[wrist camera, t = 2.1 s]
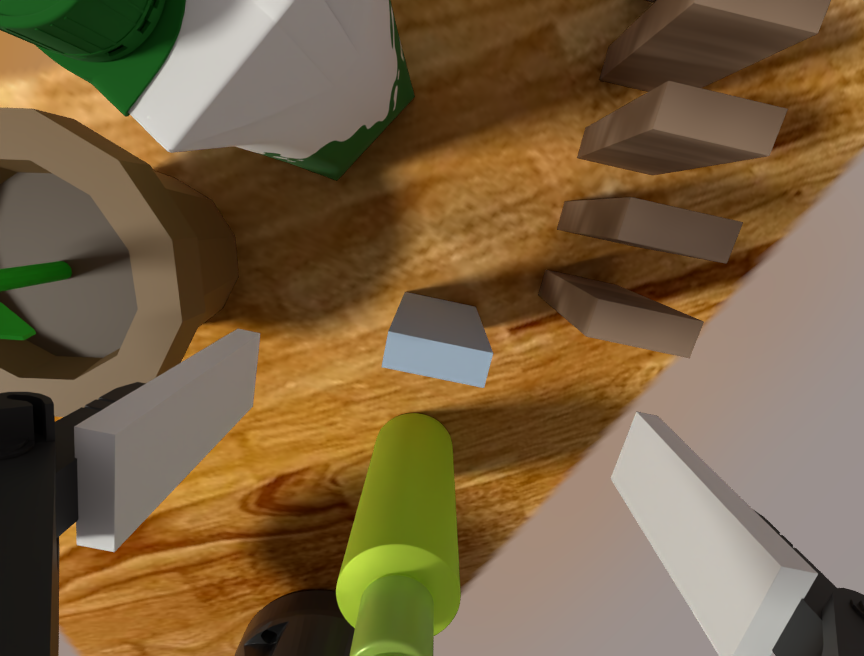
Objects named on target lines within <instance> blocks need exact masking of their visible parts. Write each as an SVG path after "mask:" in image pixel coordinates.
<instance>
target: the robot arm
mask: <svg viewBox="0 0 864 656" xmlns="http://www.w3.org/2000/svg"><path fill="white" fill-rule="evenodd" d="M259 342H260V333H256V332H251V331H247V330H242V329H236V330H235V331H233V332H231V333H230V334H228V335H226V336H225V337H223V338H221V339H220V340H218V341H216V342H215V343H213V344H211V345H210V346H208V347H206V348H205V349H203V350H201V351H200V352H198V353H196V354H195V355H193V356H191V357H190V358H188V359H186V360H185V361H183V362H181V363H180V364H178V365H176V366H175V367H173V368H171V369H169V370H168V371H166V372H164V373H163V374H161V375H159V376H158V377H156V378H154V379H153V380H151V381H149V382H148V383H142V382H135V383H132V384H128V385H125V386H122V387H118V388H115V389H113V390H112V391H110V392H108V393H106V394H104V395H103V396H101V397H99V399H98V400H96V399H95V400H94V401H92V402H90V403H88V404H86V405H85V407H84V408H82V407H81V408H79V409H78V410H76V411H74V412H72V413H70V414H69V415H67V416H65V417H63V418H61V419H60V420H58V421H56V422H55V421H54V403H53V401H52V399H51V398H50V397H48V396H45V395H43V394H40V393H33V392H4V393H0V656H58V647H59V645H58V644H59V536H60V535H61V534H62V533H63V532H65V531H66V530H67V529H68V528H69V527H70V526H72V525H73V524H74V523H75V522H76V530H77V545H80V546H86V547H91V548H96V549H101V550H107V551H112V552H115V551H116V550H117V549H118V548H119V547H120V546H121V544H122V543H123V542H124V541H125V540H126V539H127V538H128V537H129V536H130V535H131V534H132V533H133V532H134V531H135V530H136V529H137V528H138V527H139V526H140V524H141V523H142V522H143V521H144V520H145V519H146V518H147V517H148V516H149V515H150V514H151V513H152V512H153V511H154V510H155V509H156V508H157V507H158V506H159V504H160V503H161V502H162V501H163V500H164V499H165V498H166V497H167V496H168V495H169V494H170V493H171V492H172V491H173V490H174V489H175V488H176V487H177V486H178V484H179V483H180V482H181V481H182V480H183V479H184V478H185V477H186V476H187V475H188V474H189V473H190V472H191V471H192V470H193V469H194V468H195V467H196V466H197V464H198V463H199V462H200V461H201V460H202V459H203V458H204V457H205V456H206V455H207V454H208V453H209V452H210V451H211V450H212V449H213V448H214V447H215V446H216V444H217V443H218V442H219V441H220V440H221V439H222V438H223V437H224V436H225V435H226V434H227V433H228V432H229V431H230V430H231V429H232V428H233V427H234V426H235V424H236V423H237V422H238V421H239V420H240V419H241V418H242V417H243V416H244V415H245V414H246V413H247V412H248V411H249V410H250V409H251V408H252V407H253V399H254V390H255V380H256V370H257V361H258V351H259ZM611 480H612V482H613V483H614V485H615V486H616V488H617V490H618V491H619V493H620V495H621V496H622V498H623V499H624V501H625V503H626V504H627V506H628V508H629V509H630V511H631V513H632V514H633V516H634V517H635V519H636V521H637V522H638V524H639V526H640V527H641V529H642V530H643V532H644V534H645V535H646V537H647V538H648V540H649V542H650V544H651V545H652V546H653V548H654V550H655V552H656V553H657V555H658V557H659V558H660V560H661V562H662V563H663V565H664V566H665V568H666V570H667V571H668V573H669V574H670V576H671V578H672V580H673V581H674V583H675V584H676V586H677V588H678V589H679V591H680V593H681V594H682V596H683V598H684V599H685V601H686V602H687V604H688V606H689V607H690V609H691V611H692V612H693V614H694V615H695V617H696V619H697V620H698V622H699V624H700V625H701V627H702V629H703V630H704V632H705V633H706V635H707V637H708V638H709V640H710V642H711V643H712V645H713V647H714V648H715V650H716V651H717V653H718V655H719V656H771V655H772V653H774V654H775V655H776V656H864V595H863V594H860V593H858V592H856V591H853V590H849V589H845V588H836V587H835V586H834V585H833V584H832V583H831V582H830V581H829V580H828V579H827V578H826V577H825V576H824V575H823V574H822V573H821V572H820V571H819V570H818V569H817V568H816V567H815V566H814V565H813V564H812V563H811V562H810V561H809V560H808V559H807V558H806V557H804V556H803V554H801V553H800V552H799V551H798V550H797V549H796V548H793V545H792V544H791V543H790V542H789V541H788V540H787V539H786V538H785V537H784V536H783V535H780V534H779V533H780V532H779V531H778V530H777V529H776V528H775V527H774V526H773V525H772V524H771V523H770V522H769V521H768V520H766V519H765V518H764V517H763V516H762V515H760V514H759V513H757V512H756V511H755V510H753V509H752V508H751V507H750V506H749V505H748V504H747V503H746V502H745V501H744V500H743V499H741V498H740V496H738V494H737V493H735V492H734V491H733V489H731V488H730V487H729V486H728V485H727V484H726V483H725V482H724V481H723V480H722V479H721V478H720V477H719V476H718V475H717V474H716V473H715V472H714V471H713V470H712V469H711V468H710V467H709V466H708V465H707V464H706V463H705V462H704V461H703V460H702V459H701V458H700V457H699V456H698V455H697V454H696V453H695V452H694V451H693V450H692V449H691V448H690V447H689V446H688V445H687V444H685V443H684V441H683V440H682V439H681V438H680V437H679V436H678V435H677V434H675V432H673V431H672V430H671V429H670V428H669V427H668V426H667V425H666V424H665V423H664V422H663V421H662V420H661V419H660V418H659V417H658V416H656V415H651V414H646V413H641V412H636V414H635V416H634V419H633V421H632V424H631V427H630V429H629V432H628V435H627V438H626V440H625V443H624V445H623V448H622V451H621V453H620V456H619V458H618V461H617V464H616V466H615V469H614V471H613V474H612V477H611ZM354 631H355V628H354V627H353V626H351V625H350V624H349V622H348V621H347V620H346V619H345V617H344V616H343V614H342V613H341V611H340V609H339V606H338V603H337V598H336V591H327V590H312V591H303V592H297V593H293V594H290V595H286V596H284V597H281V598H279V599H277V600H275V601H273V602H271V603H270V604H268V605H266V606H265V607H264V608H263V609H261V610H260V611H259V612H258V613H257V614H256V615H255V616H254V618H253V619H252V620H251V622H250V623H249V625H248V627H247V629H246V631H245V633H244V635H243V637H242V640H241V642H240V644H239V646H238V648H237V651H236V653H235V656H350V651H351V646H352V641H353V636H354Z"/></svg>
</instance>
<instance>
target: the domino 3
mask: <svg viewBox="0 0 864 656" xmlns="http://www.w3.org/2000/svg"><path fill="white" fill-rule="evenodd" d="M787 110H788V109H786V108H782V107H778V106H773V105H769V104H765V103H761V102H756V101H752V100H748V99H744V98H740V97H735V96H731V95H727V94H723V93H718V92H714V91H710V90H706V89H702V88H697V87H693V86H689V85H685V84H681V83H676V82H672V81H667V82H665V83H663V84H662V85H660V86H658V87H656V88H655V89H653V90H651V91H649V92H648V93H646V94H644V95H642V96H641V97H639V98H637V99H635V100H634V101H632V102H630V103H628V104H627V105H625V106H623V107H621V108H619V109H618V110H616V111H614V112H612V113H611V114H609V115H607V116H605V117H604V118H602V119H600V120H598V121H597V122H595V123H593V124H591V125H590V126H588V127H586V128H585V132H584V135H583V139H582V142H581V146H580V149H579V153H578V156H577V158H579V159H583V160H588V161H592V162H597V163H601V164H605V165H610V166H614V167H618V168H623V169H627V170H632V171H636V172H640V173H645V174H649V175H658V174H664V173H670V172H676V171H682V170H688V169H694V168H700V167H706V166H712V165H718V164H724V163H730V162H736V161H742V160H748V159H754V158H760V157H766V156H769V155H770V153H771V150H772V148H773V145H774V143H775V140H776V138H777V135H778V133H779V130H780V128H781V125H782V122H783V120H784V117H785V115H786V112H787Z"/></svg>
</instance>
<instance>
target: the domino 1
mask: <svg viewBox="0 0 864 656" xmlns="http://www.w3.org/2000/svg"><path fill="white" fill-rule="evenodd" d="M492 355H493V352H492V349H491V346H490V344H489V341H488V338H487V336H486V333H485V330H484V327H483V325H482V322H481V319H480V317H479V314H478V311H477V309H476V307H474V306H470V305H465V304H460V303H456V302H451V301H446V300H441V299H437V298H432V297H427V296H423V295H418V294H413V293H408V292H405V293H404V296H403V298H402V300H401V303H400V305H399V307H398V310H397V312H396V315H395V317H394V319H393V322H392V324H391V326H390V329H389V331H388V336H387V341H386V347H385V352H384V357H383V362H382V367H384V368H389V369H394V370H399V371H404V372H409V373H413V374H418V375H423V376H428V377H433V378H438V379H443V380H448V381H453V382H457V383H462V384H467V385H472V386H477V387H482V388H484V386H485V382H486V378H487V374H488V371H489V367H490V363H491V359H492Z"/></svg>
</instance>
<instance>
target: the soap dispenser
mask: <svg viewBox="0 0 864 656" xmlns="http://www.w3.org/2000/svg"><path fill="white" fill-rule="evenodd" d="M336 598H337V603H338V606H339V609H340V611H341V613H342V614H343V616H344V617H345V619H346V620H347V621H348V622H349V624H350V625H351V626H353V627H354V628H355V631H354V636H353V641H352V646H351V651H350V656H433V636H435V635H437V634H438V633H440V632H441V631H442V630H444V629H445V628H446V627H447V626H448V625H449V624H450V623H451V622H452V620H453V619H454V617H455V615H456V613H457V611H458V608H459V605H460V598H461V591H460V573H459V555H458V537H457V518H456V500H455V482H454V464H453V446H452V440H451V437H450V435H449V433H448V431H447V430H446V428H445V427H444V426H443V425H442V424H441V423H440V422H439V421H437V420H436V419H434V418H432V417H430V416H427V415H424V414H419V413H408V414H403V415H399V416H397V417H395V418H393V419H391V420H390V421H388V422H387V423H386V424H385V425H384V426H383V427H382V429H381V430H380V432H379V434H378V436H377V439H376V443H375V446H374V450H373V454H372V457H371V461H370V465H369V468H368V472H367V475H366V479H365V483H364V486H363V490H362V494H361V497H360V501H359V504H358V508H357V512H356V515H355V519H354V523H353V526H352V530H351V534H350V537H349V541H348V544H347V548H346V552H345V555H344V559H343V563H342V566H341V570H340V573H339V577H338V581H337V586H336Z"/></svg>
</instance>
